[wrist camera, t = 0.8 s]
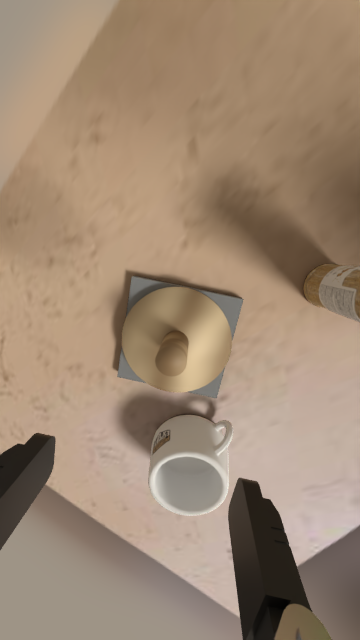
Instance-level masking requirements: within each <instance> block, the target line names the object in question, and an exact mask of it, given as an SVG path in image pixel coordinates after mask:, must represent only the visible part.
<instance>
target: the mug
mask: <svg viewBox="0 0 360 640" xmlns="http://www.w3.org/2000/svg"><path fill="white" fill-rule="evenodd" d="M224 427H226V434H225V436H224V435H223V433H222V431H221V430H220V429H222V428H224ZM232 437H233V427H232V424H231V423H230V422H229V421H226V420H222V421H219V422H218V423H216V424H214V423H213V422H211V421H209V420H208V419H205V418H203V417H200V416H196V415H181V416H176V417H174V418H171V419H169V420H167V421H166V422H164V423H163V424H161V426H160V427H159V428H158V430H157V431H156V433H155V436H154V438H153V441H152V446H151V457H150V467H149V478H148V484H149V488H150V491H151V494H152V495H153V497H154V499H155V500H156V501H157V502H158V503H159V504H160V505H161V506H162V507H164V508H166V509H167V510H169V511H171V512H174V513H177V514H180V515H187V516H196V515H202V514H206V513H209V512H211V511H212V510H214V509H216V508H217V507H218V506H219V505H220V504H221V503H222V502H223V501H224V499H225V497H226V495H227V493H228V487H229V456H228V445H229V444H230V442H231V440H232Z"/></svg>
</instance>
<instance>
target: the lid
mask: <svg viewBox="0 0 360 640" xmlns="http://www.w3.org/2000/svg"><path fill="white" fill-rule="evenodd" d="M122 347H123V352H124V355H125V358H126V360H127V362H128V364H129V366H130V367H131V369H132V370H133V371H134V372H135V374H136V375H137V376H138V377H140V378H141V379H142V380H143V381H145V382H146V383H147V384H149V385H151V386H153V387H155V388H158V389H160V390H164V391H169V392H188V391H193V390H196V389H199V388H201V387H203V386H205V385H207V384H209V383H210V382H212V381H213V380H214V379H215V378H216V377H217V376H218V375H219V374H220V373H221V372H222V370H223V369H224V367H225V366H226V364H227V362H228V359H229V356H230V353H231V348H232V336H231V330H230V326H229V324H228V321H227V319H226V317H225V315H224V313H223V312H222V310H221V309H220V307H219V306H218V305H217V304H216V303H215V302H214V301H213V300H212V299H210V298H209V297H208V296H206V295H204V294H203V293H201V292H199V291H196V290H193V289H190V288H185V287H166V288H162V289H158V290H156V291H153V292H151V293H149V294H148V295H146V296H144V297H143V298H142V299H141V300H139V301H138V302H137V303H136V304H135V305H134V306H133V307H132V309H131V310H130V312H129V313H128V315H127V317H126V319H125V322H124V325H123V329H122Z"/></svg>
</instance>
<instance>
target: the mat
mask: <svg viewBox="0 0 360 640" xmlns="http://www.w3.org/2000/svg"><path fill="white" fill-rule="evenodd" d="M166 287H185V288H190V289H193V290H196V291H199V292H201V293H203V294H204V295H206V296H208V297H209V298H210V299H212V300H213V301H214V302H215V303H216V304H217V305H218V306H219V307H220V309H221V310H222V312H223V313H224V315H225V317H226V319H227V321H228V324H229V326H230V330H231V336H232V340H233V336H234V332H235V329H236V325H237V321H238V317H239V314H240V310H241V306H242V303H243V299H242V298H239V297H234V296H230V295H225V294H220V293H215V292H210V291H206V290H201V289H196V288H191V287H186V286H181V285H177V284H172V283H167V282H162V281H157V280H153V279H148V278H143V277H138V276H132V279H131V286H130V293H129V300H128V307H127V313H126V317H127V315H128V313H129V312H130V310H131V309H132V307H133V306H134V305H135V304H136V303H137V302H138V301H139V300H141V299H142V298H143V297H144V296H146V295H148V294H149V293H151V292H153V291H156V290H158V289H162V288H166ZM224 369H225V367H224ZM224 369H223V370H222V372H221V373H220V374H219V375H218V376H217V377H216V378H215V379H214V380H213V381H212V382H210V383H209V384H207V385H205V386H203V387H201V388H199V389H196V390H193V391H188V392H189V393H194V394H199V395H203V396H208V397H213V398H217V395H218V391H219V388H220V384H221V380H222V377H223V373H224ZM117 377H120V378H125V379H129V380H134V381H139V382H143V383H146V382H145V381H143V380H142V379H141V378H140V377H138V376H137V375H136V374H135V372H134V371H133V370H132V369H131V367H130V366H129V364H128V362H127V360H126V358H125V355H124V352H123V347H122V348H121V355H120V362H119V369H118V376H117Z"/></svg>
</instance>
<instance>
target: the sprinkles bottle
mask: <svg viewBox="0 0 360 640" xmlns="http://www.w3.org/2000/svg"><path fill="white" fill-rule="evenodd" d="M303 289H304V294H305V297H306V299H307V300H308V301H309V302H310V303H312V304H313V305H315V306H318V307H324V308H327V309H328V310H330V311H332V312H335V313H337V314H340V315H342V316H345V317H347V318H350V319H353V320H355V321H358V322H360V266H356V265H344V266H342V265H336V264H324V265H321V266H318V267H317V268H315V269H314V270H312V271H311V272H310V274H309V275H308V276H307V278H306V280H305V283H304V287H303Z"/></svg>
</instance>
